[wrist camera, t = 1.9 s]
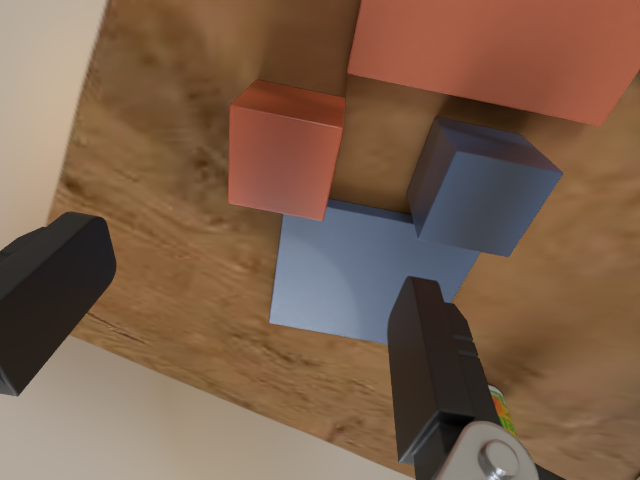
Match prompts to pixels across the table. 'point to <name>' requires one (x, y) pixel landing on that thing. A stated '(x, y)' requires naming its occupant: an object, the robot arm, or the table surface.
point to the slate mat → (355, 269)
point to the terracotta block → (284, 149)
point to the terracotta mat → (505, 51)
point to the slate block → (478, 187)
